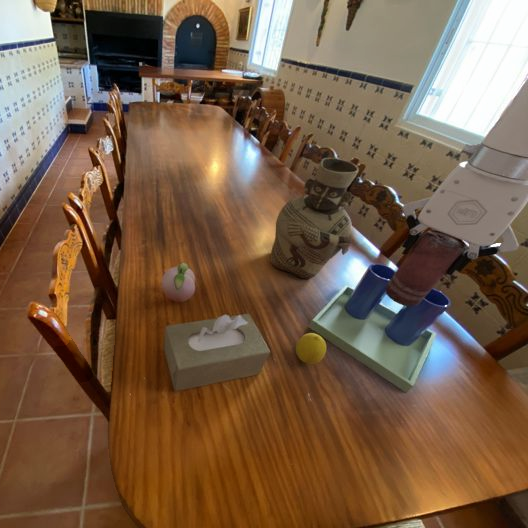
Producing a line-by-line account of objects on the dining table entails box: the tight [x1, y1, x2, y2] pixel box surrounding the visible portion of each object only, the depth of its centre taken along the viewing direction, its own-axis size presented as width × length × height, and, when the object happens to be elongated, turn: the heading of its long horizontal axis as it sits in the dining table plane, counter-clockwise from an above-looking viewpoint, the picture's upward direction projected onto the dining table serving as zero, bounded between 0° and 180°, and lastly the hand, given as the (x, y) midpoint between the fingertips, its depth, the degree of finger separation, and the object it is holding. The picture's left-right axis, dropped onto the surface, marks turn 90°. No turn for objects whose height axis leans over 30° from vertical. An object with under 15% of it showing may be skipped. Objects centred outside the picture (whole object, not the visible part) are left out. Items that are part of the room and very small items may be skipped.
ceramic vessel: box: [270, 157, 359, 280], centre depth 81 cm, size 19×21×30 cm
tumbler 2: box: [385, 287, 452, 346], centre depth 67 cm, size 6×6×14 cm
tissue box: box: [163, 313, 271, 392], centre depth 57 cm, size 19×10×16 cm, turn 104°
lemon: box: [295, 332, 327, 365], centre depth 62 cm, size 6×6×8 cm
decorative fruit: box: [161, 262, 196, 303], centre depth 73 cm, size 9×8×10 cm
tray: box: [308, 283, 438, 393], centre depth 70 cm, size 22×20×3 cm
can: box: [385, 229, 466, 306], centre depth 54 cm, size 6×6×14 cm
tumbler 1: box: [344, 262, 397, 320], centre depth 72 cm, size 6×6×14 cm
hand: (427, 260), depth 53 cm, fingers closed on can, 6 cm apart
